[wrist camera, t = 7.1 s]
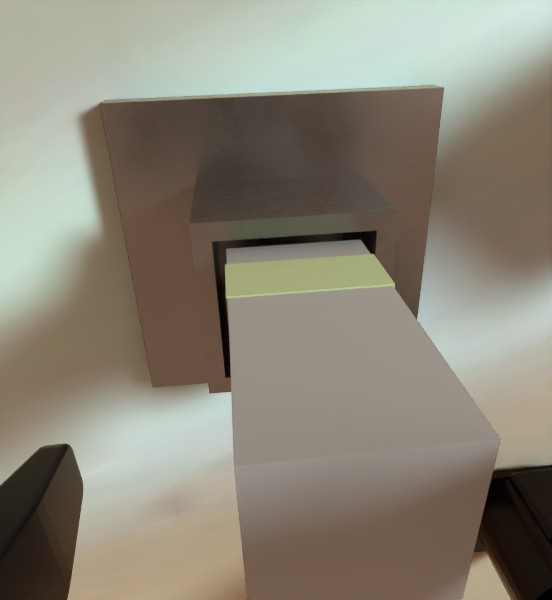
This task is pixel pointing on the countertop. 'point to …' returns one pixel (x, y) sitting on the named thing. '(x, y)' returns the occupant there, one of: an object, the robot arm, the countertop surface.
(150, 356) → the stand base
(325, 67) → the countertop surface
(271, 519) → the column
